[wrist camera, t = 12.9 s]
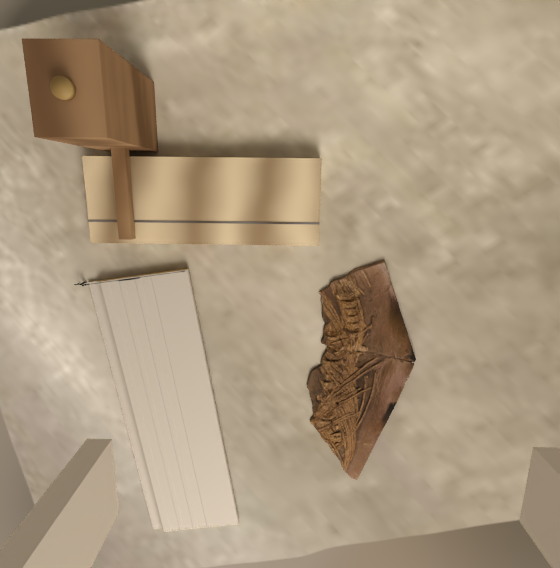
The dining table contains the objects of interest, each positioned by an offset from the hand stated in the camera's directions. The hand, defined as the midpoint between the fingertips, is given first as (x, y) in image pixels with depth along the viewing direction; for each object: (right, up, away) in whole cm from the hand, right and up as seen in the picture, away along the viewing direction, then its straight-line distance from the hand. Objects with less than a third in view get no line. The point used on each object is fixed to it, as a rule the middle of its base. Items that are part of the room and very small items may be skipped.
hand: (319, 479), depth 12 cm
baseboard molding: (-14, -8, +33) cm, 36 cm away
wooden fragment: (+7, -4, +31) cm, 32 cm away
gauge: (-15, +18, +25) cm, 35 cm away
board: (-8, +14, +26) cm, 31 cm away
